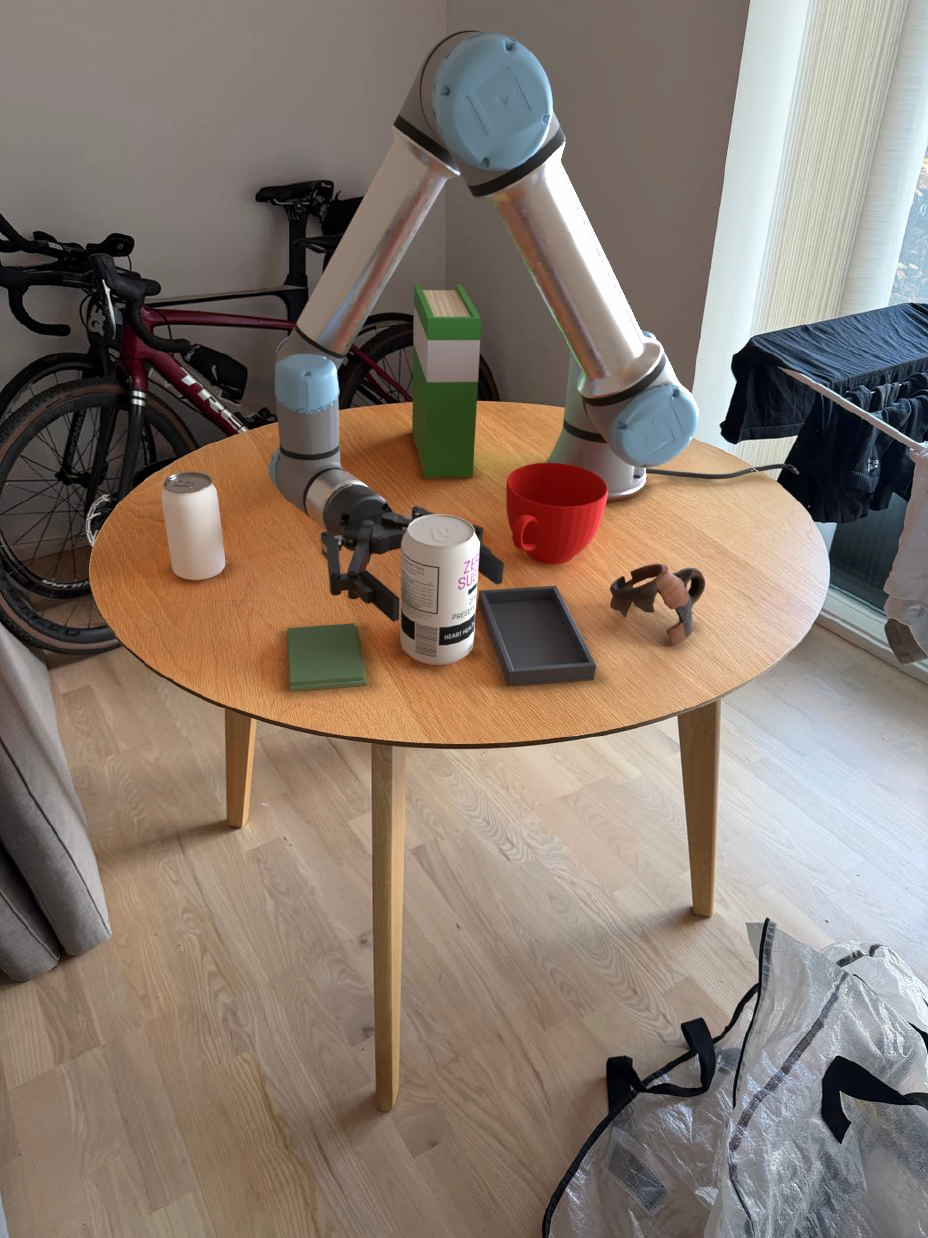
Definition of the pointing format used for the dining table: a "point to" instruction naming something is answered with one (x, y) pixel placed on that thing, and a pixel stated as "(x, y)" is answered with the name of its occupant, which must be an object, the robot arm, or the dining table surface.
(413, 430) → the hardback book
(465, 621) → the supplement can
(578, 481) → the ceramic cup
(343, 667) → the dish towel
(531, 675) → the pan
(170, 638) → the dining table surface
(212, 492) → the can
